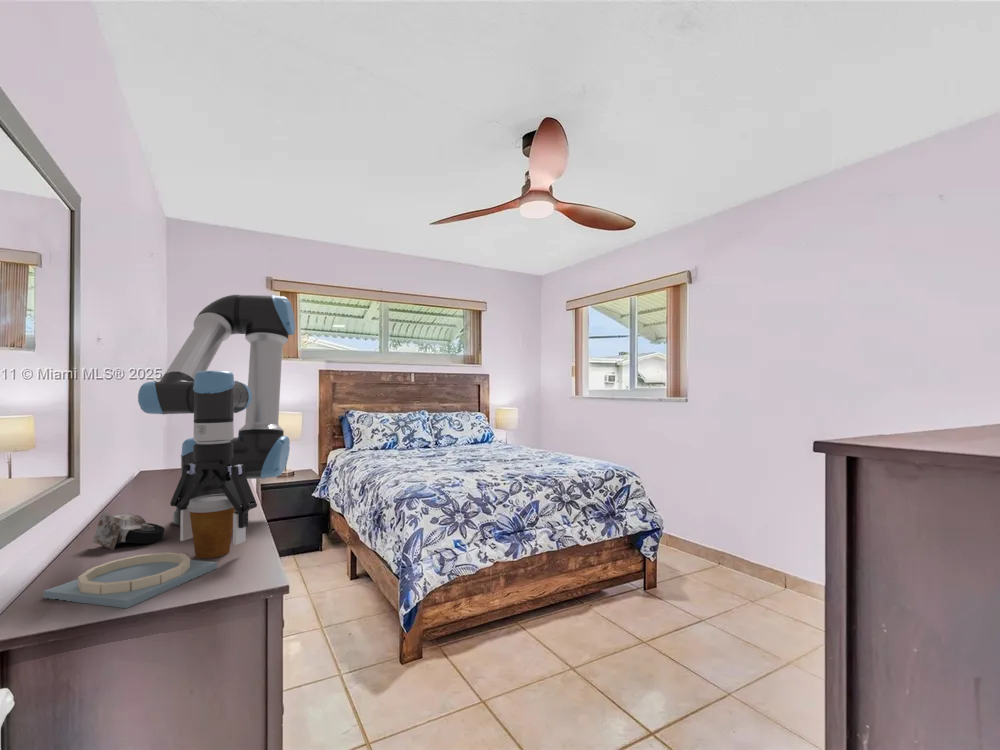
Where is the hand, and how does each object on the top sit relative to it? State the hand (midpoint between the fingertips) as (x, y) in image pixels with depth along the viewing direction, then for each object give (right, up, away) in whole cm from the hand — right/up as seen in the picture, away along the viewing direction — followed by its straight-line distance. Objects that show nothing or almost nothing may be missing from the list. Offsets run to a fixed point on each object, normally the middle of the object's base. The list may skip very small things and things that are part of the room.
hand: (212, 541), depth 104 cm
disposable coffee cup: (0, -3, 0) cm, 3 cm away
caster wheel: (-24, -4, +9) cm, 25 cm away
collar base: (-5, -2, -15) cm, 16 cm away
